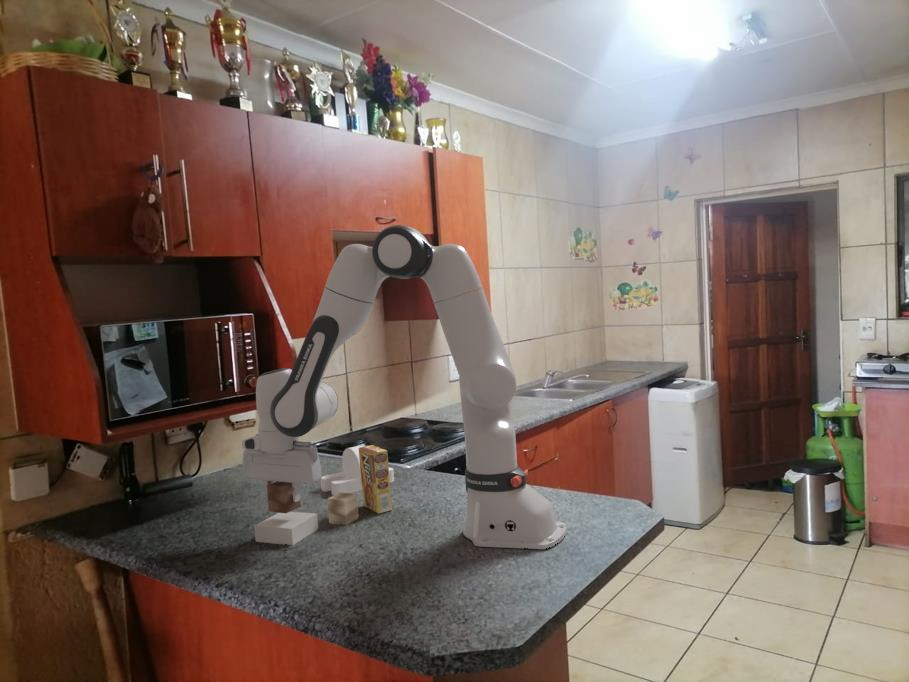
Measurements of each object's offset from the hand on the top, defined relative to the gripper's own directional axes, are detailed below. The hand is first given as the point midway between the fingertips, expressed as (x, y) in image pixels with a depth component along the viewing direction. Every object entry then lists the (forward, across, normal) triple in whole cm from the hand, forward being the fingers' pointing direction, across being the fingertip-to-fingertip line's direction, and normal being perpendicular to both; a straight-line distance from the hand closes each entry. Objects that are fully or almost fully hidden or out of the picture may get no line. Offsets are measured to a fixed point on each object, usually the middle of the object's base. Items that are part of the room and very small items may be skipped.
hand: (284, 499), depth 148 cm
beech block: (+8, -7, -12) cm, 16 cm away
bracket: (+9, +7, -38) cm, 40 cm away
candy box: (+8, -10, -22) cm, 26 cm away
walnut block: (+2, 0, 0) cm, 2 cm away
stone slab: (+9, 0, 0) cm, 9 cm away
